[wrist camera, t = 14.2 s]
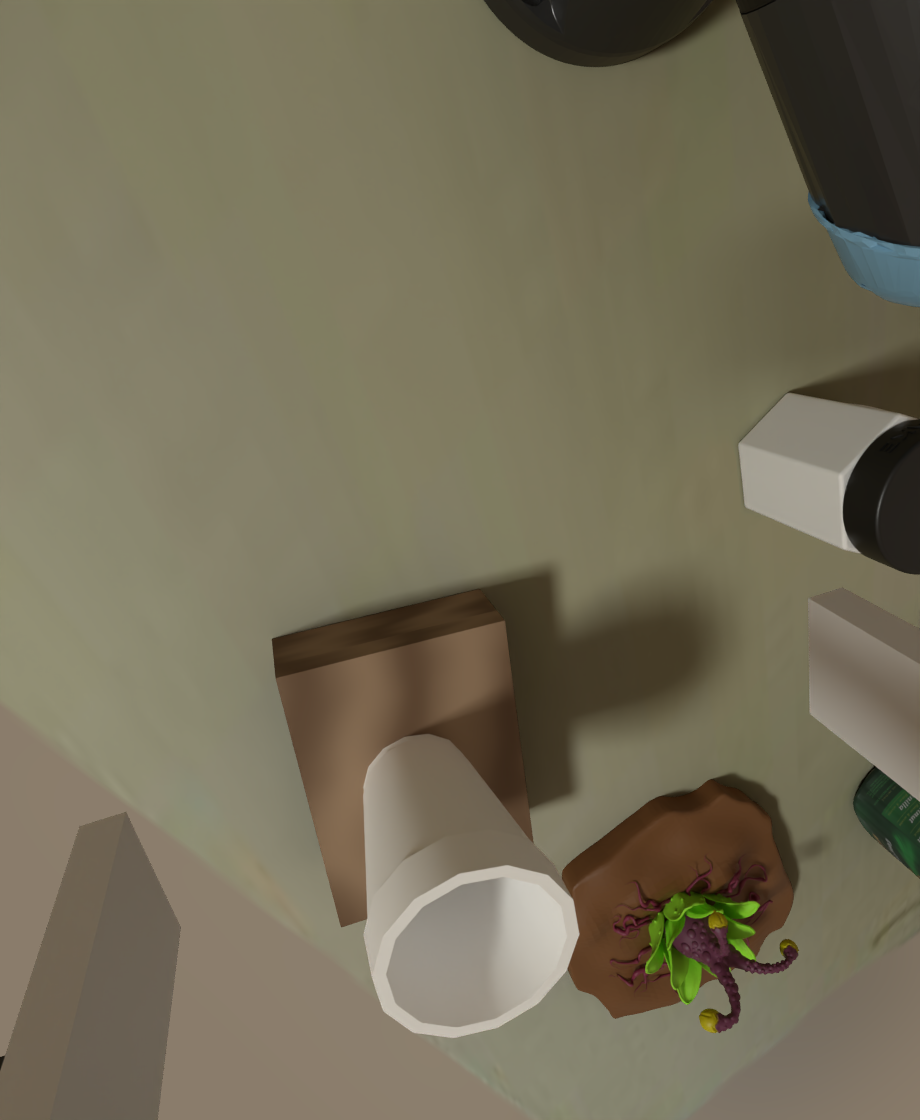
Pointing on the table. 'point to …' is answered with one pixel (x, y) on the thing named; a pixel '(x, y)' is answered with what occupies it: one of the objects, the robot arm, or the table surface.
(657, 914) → the plant
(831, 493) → the jar
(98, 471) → the table surface
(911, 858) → the coffee jar
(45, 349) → the table surface
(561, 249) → the table surface
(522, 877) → the foam cup
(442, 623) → the walnut shelf stand
